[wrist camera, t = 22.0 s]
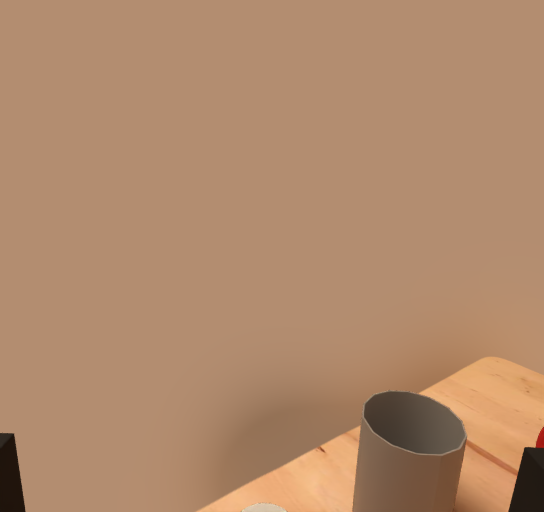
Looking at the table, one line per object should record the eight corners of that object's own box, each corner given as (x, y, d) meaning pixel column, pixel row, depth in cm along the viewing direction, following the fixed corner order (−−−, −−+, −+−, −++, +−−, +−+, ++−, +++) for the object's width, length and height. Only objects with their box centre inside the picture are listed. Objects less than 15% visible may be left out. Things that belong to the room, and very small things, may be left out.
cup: (355, 468, 41) (364, 383, 39) (440, 487, 39) (455, 399, 37) (350, 543, 33) (360, 443, 31) (455, 571, 31) (476, 466, 29)
